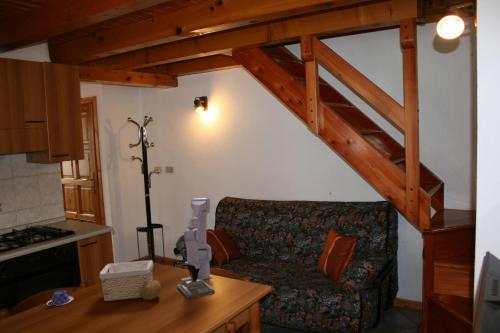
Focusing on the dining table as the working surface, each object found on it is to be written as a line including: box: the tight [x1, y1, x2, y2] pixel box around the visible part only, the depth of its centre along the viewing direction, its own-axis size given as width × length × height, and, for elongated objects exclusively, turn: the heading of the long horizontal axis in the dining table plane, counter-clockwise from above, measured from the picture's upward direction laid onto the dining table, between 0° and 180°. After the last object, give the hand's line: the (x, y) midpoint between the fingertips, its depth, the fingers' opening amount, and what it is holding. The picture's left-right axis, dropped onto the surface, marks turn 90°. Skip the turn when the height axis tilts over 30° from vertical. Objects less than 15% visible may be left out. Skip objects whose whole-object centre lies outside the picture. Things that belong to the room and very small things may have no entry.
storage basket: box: [99, 259, 154, 302], centre depth 202 cm, size 24×16×15 cm
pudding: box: [46, 289, 74, 307], centre depth 197 cm, size 12×12×5 cm
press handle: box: [186, 273, 204, 288], centre depth 203 cm, size 3×8×8 cm, turn 116°
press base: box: [176, 275, 216, 300], centre depth 203 cm, size 18×14×4 cm
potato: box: [139, 279, 162, 301], centre depth 195 cm, size 10×14×8 cm
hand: (194, 278), depth 204 cm, fingers closed on press handle, 3 cm apart
